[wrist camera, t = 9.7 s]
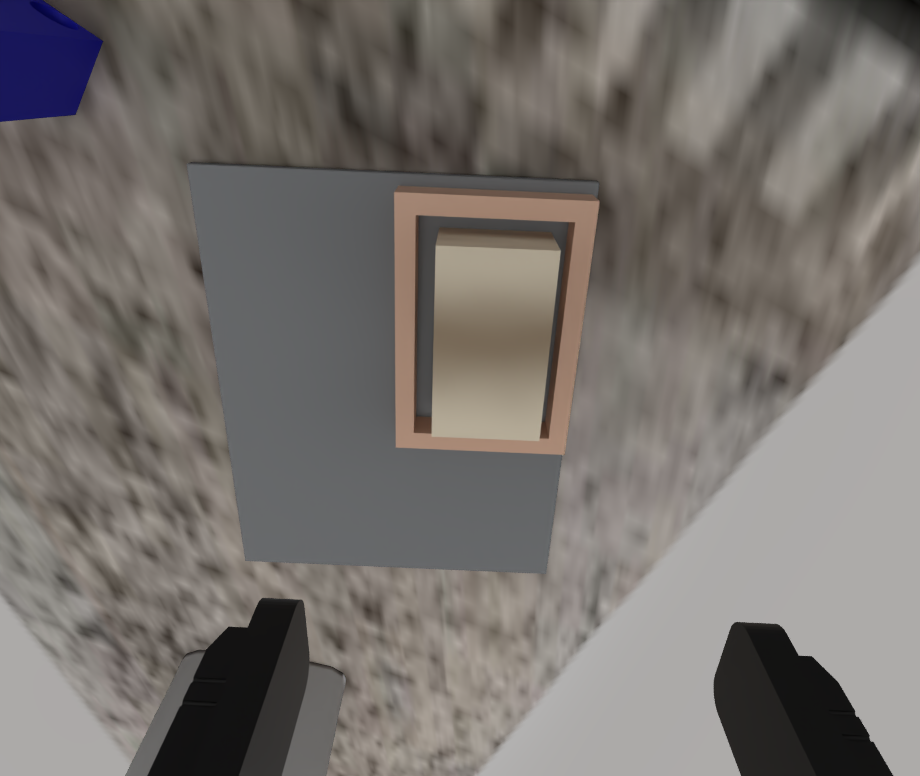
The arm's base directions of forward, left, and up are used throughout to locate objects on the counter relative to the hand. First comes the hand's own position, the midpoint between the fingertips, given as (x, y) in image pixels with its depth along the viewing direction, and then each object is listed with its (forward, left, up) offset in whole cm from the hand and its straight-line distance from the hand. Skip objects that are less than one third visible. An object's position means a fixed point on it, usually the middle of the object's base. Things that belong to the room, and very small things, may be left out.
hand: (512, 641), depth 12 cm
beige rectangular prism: (0, 0, -17) cm, 17 cm away
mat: (+4, -4, -17) cm, 18 cm away
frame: (0, 0, -17) cm, 17 cm away
